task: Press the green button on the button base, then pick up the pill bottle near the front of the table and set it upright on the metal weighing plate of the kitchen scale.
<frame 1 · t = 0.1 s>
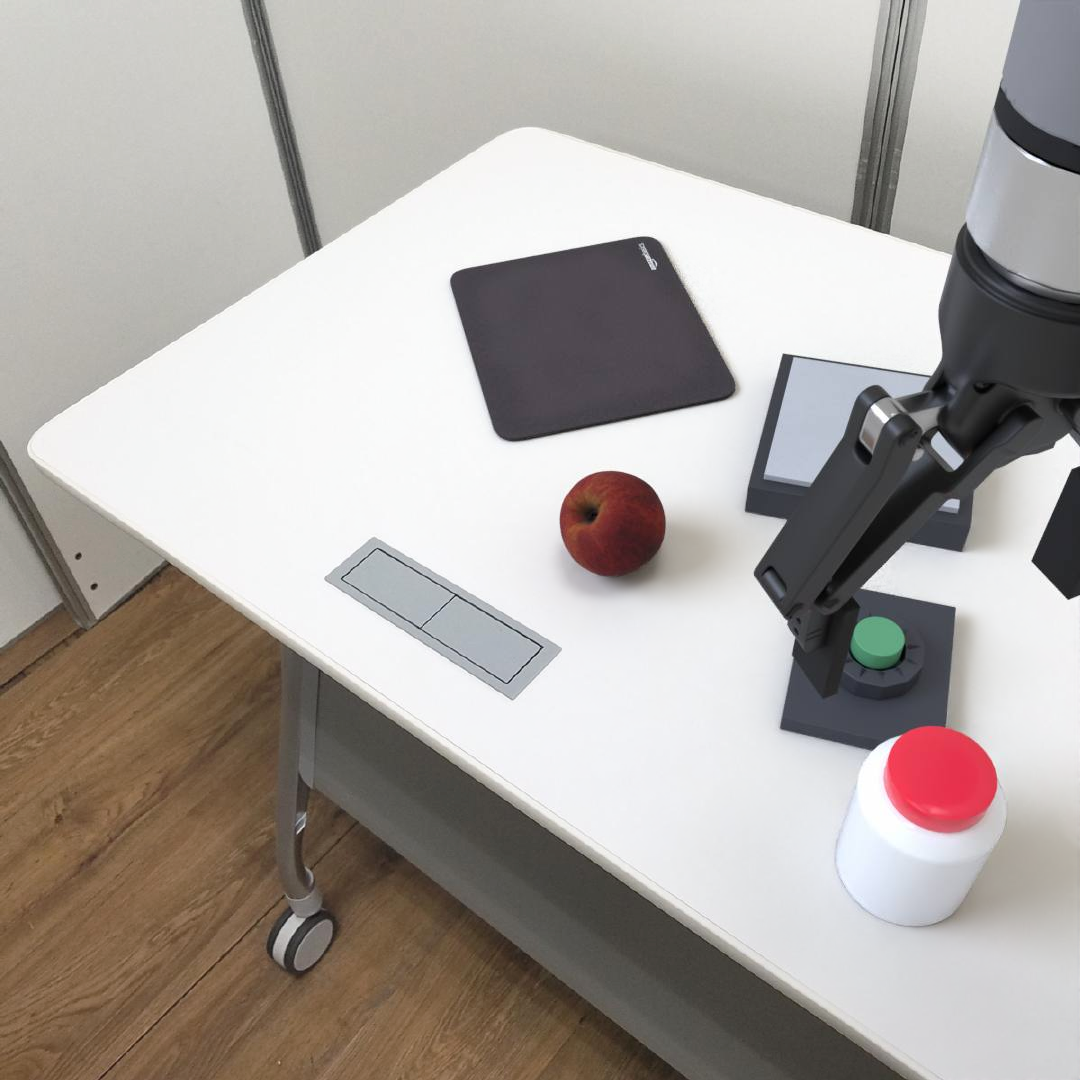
hand: (937, 625, 52), 20 cm above the table, tool pointing down, fingers open, 13 cm apart
scale: (863, 458, 87), on the table
pill bottle: (900, 864, 65), on the table
green button: (877, 642, 71), point 3 cm above the table, slide at 0.1 cm
mouse pad: (584, 331, 100), on the table
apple: (612, 558, 82), on the table
button base: (868, 672, 74), on the table
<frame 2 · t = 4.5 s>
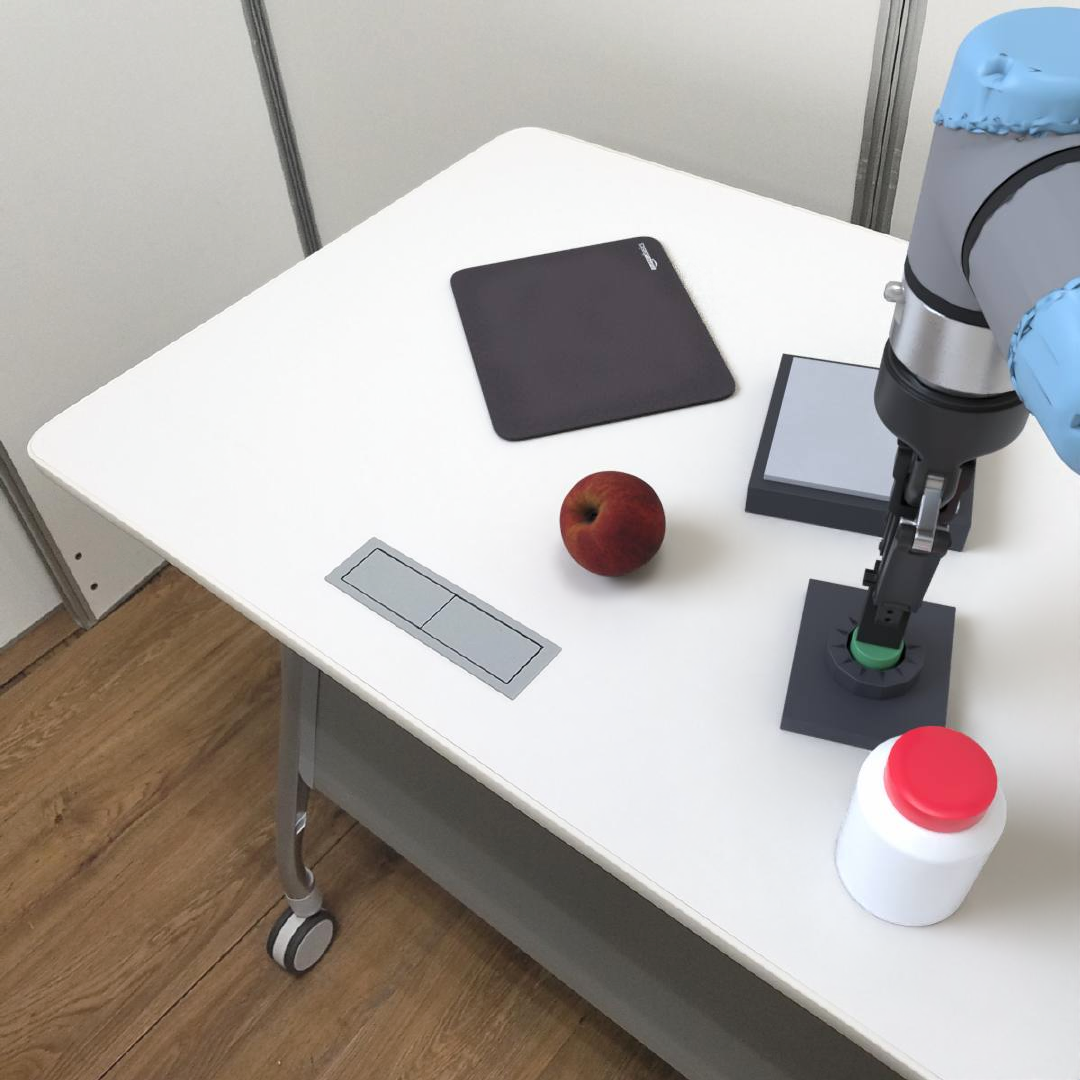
hand: (878, 635, 71), 4 cm above the table, tool pointing down, fingers closed
green button: (876, 646, 72), point 3 cm above the table, slide at -0.3 cm, touching gripper
everything else where it was.
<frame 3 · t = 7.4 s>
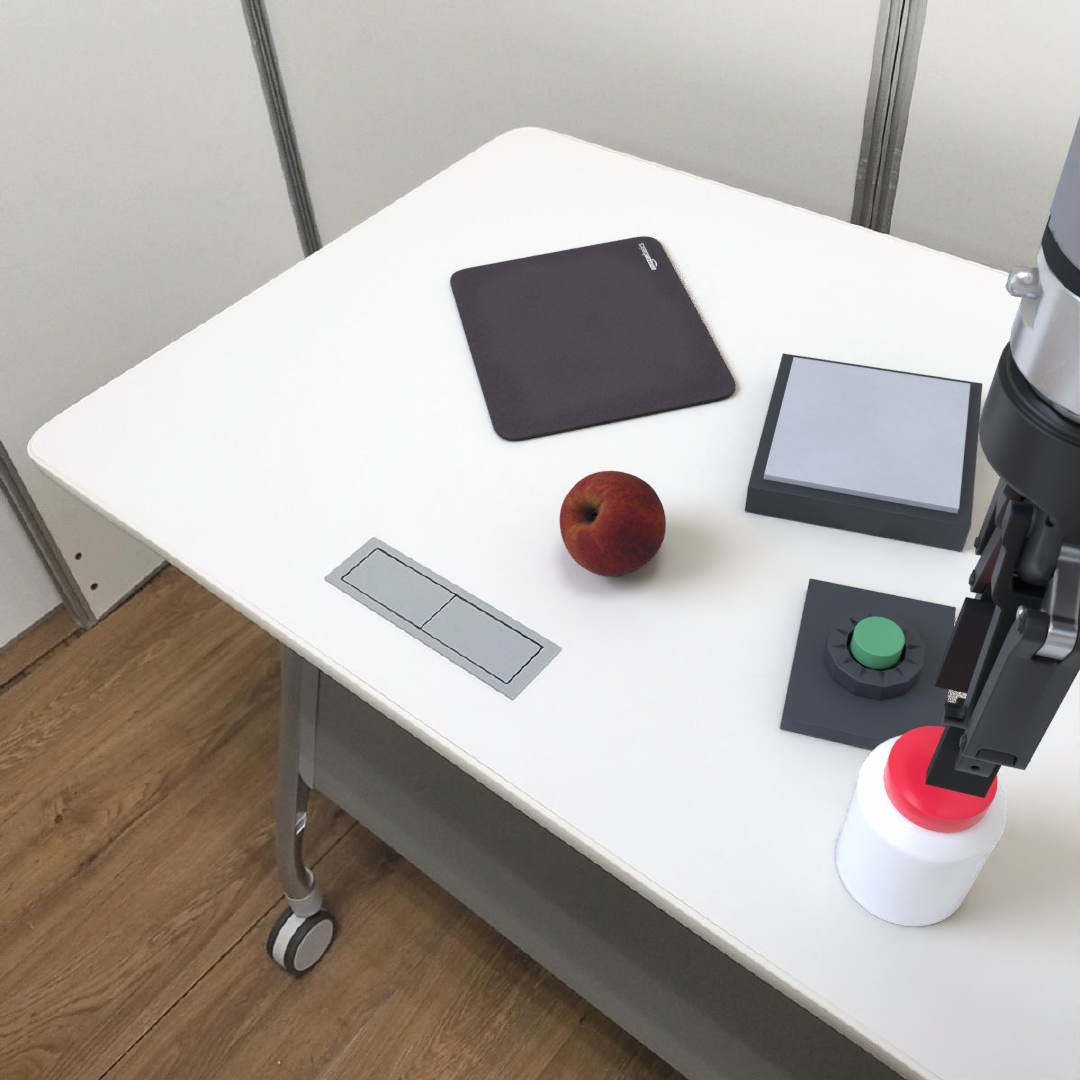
hand: (959, 733, 54), 15 cm above the table, tool pointing down, fingers open, 5 cm apart
green button: (877, 642, 71), point 3 cm above the table, slide at 0.1 cm
everything else where it was.
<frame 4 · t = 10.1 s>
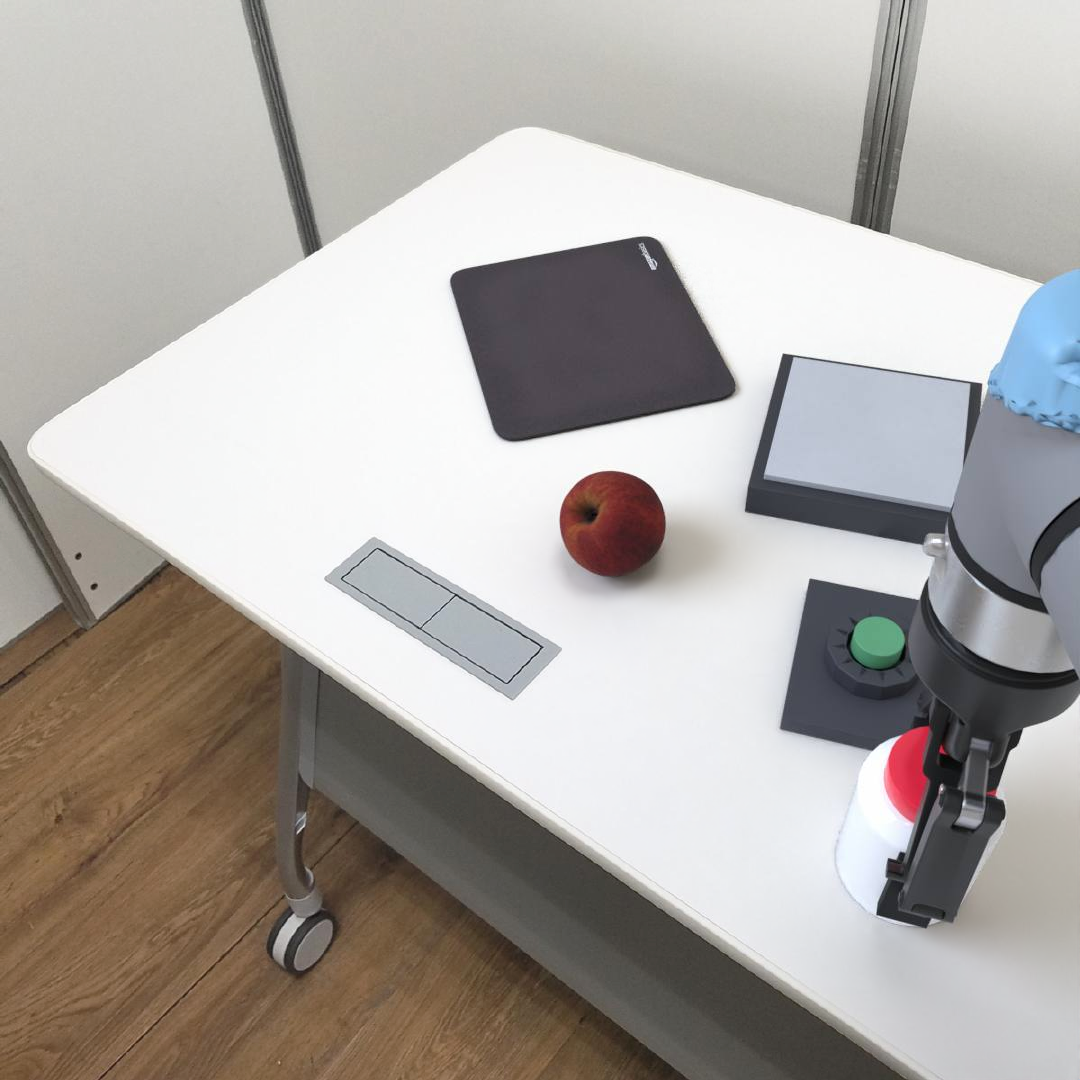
hand: (908, 846, 63), 2 cm above the table, tool pointing down, fingers closed on pill bottle, 8 cm apart
pill bottle: (900, 864, 65), on the table, touching gripper
everything else where it was.
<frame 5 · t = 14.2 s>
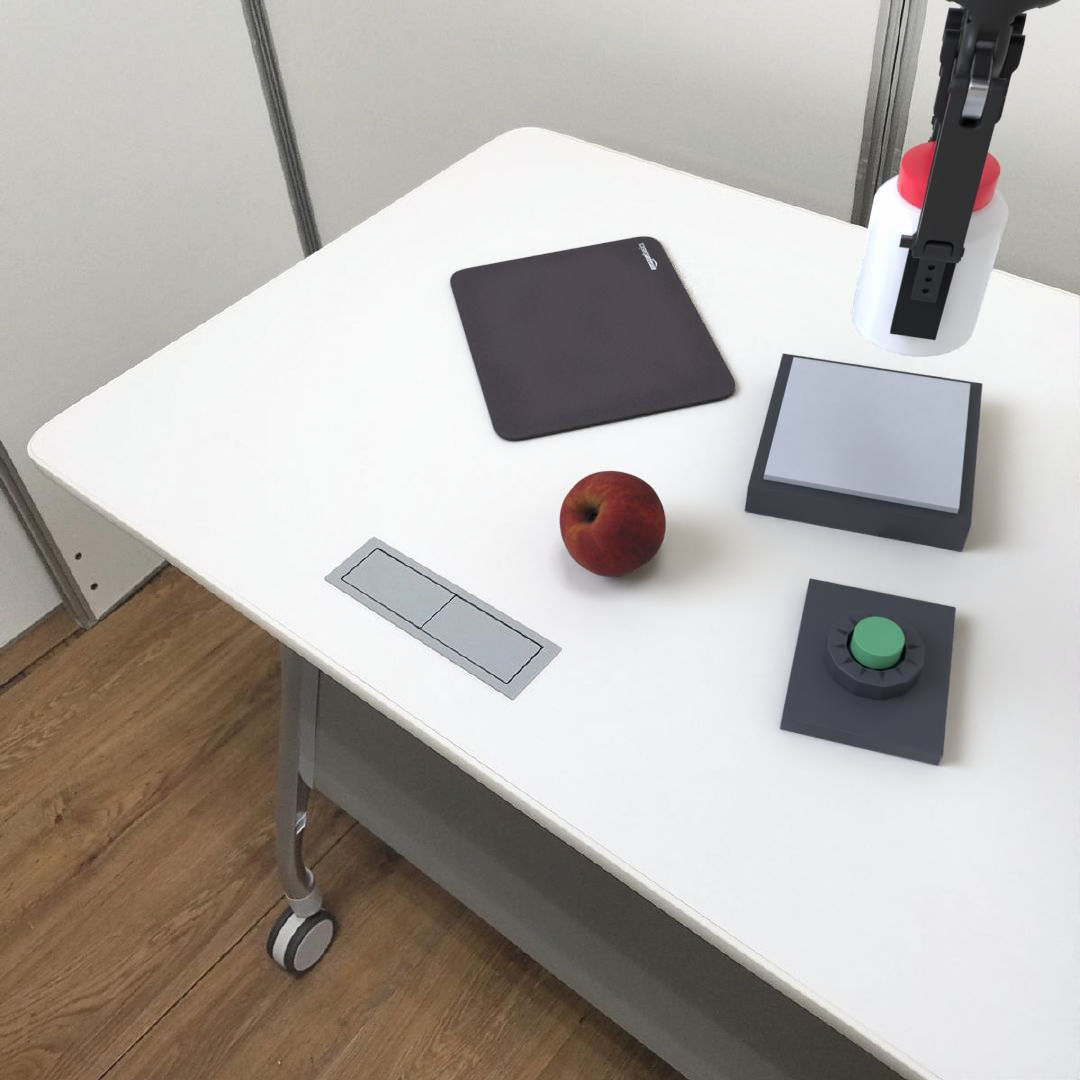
hand: (919, 291, 70), 19 cm above the table, tool pointing down, fingers closed on pill bottle, 8 cm apart
pill bottle: (911, 321, 71), point 17 cm above the table, touching gripper
everything else where it was.
when the fingers open (6 cm above the table, at t = 18.1 s): pill bottle stays where it is, resting on scale.
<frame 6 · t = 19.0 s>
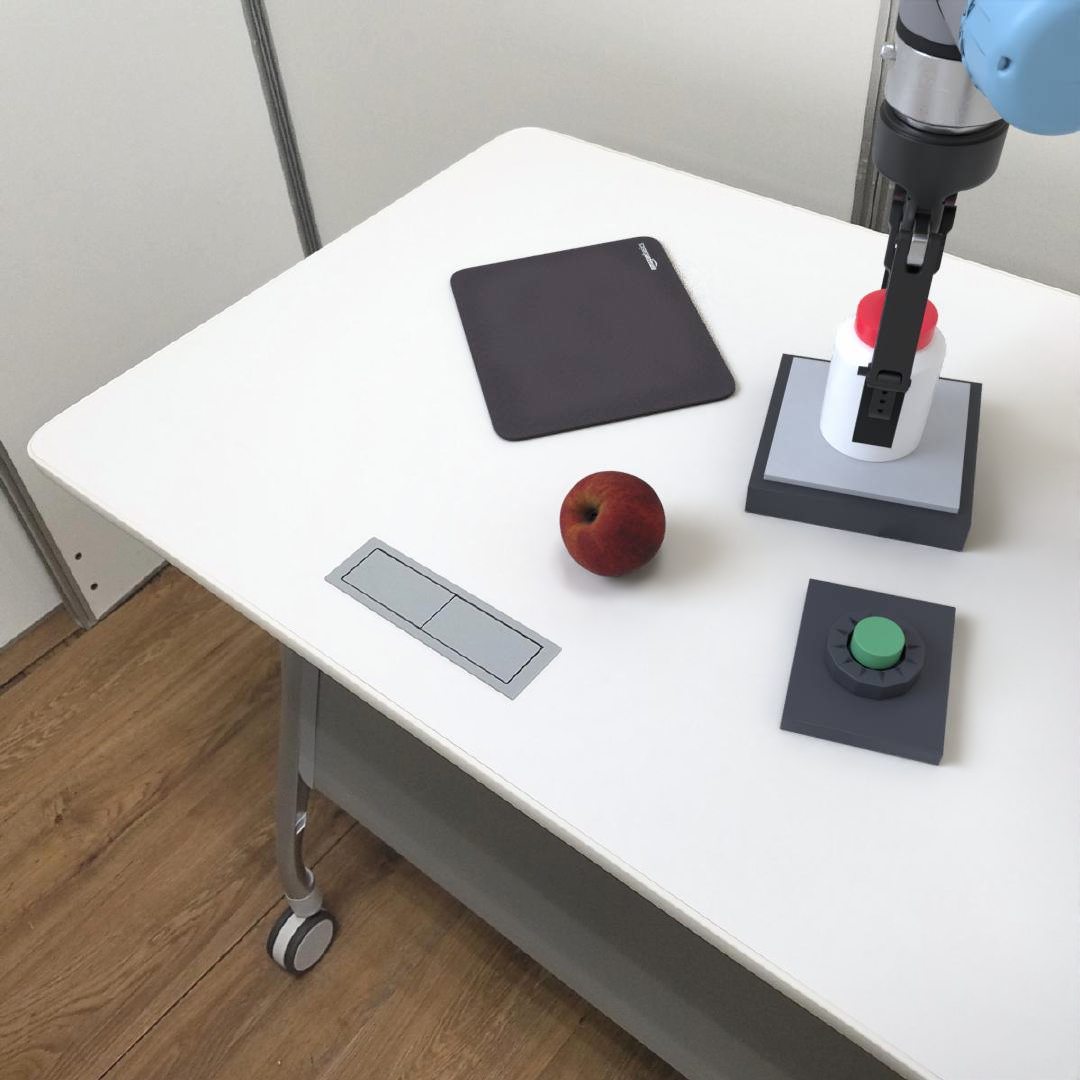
hand: (882, 380, 81), 8 cm above the table, tool pointing down, fingers open, 13 cm apart
pill bottle: (870, 429, 85), point 3 cm above the table, touching scale
everything else where it was.
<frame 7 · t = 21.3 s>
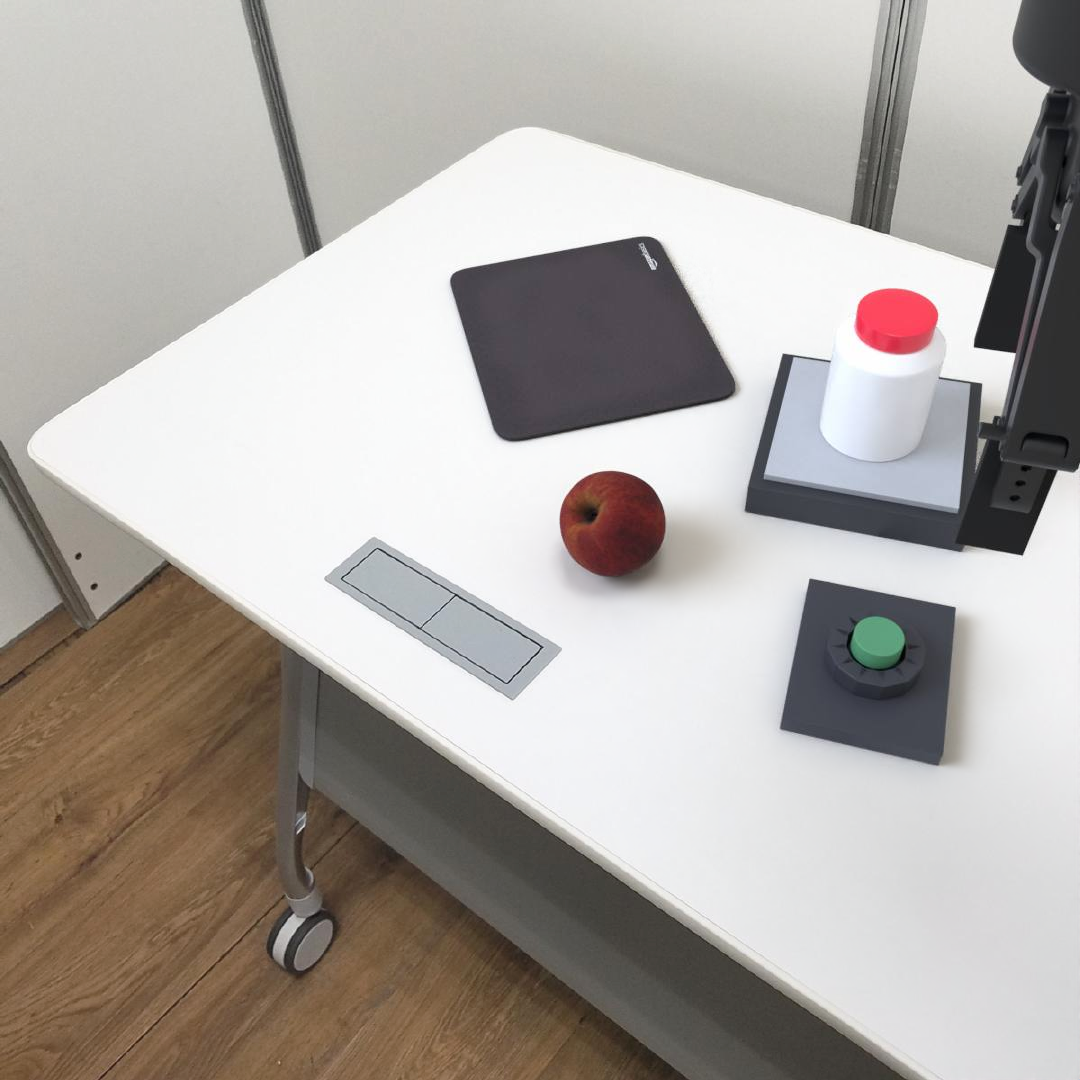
hand: (995, 437, 50), 27 cm above the table, tool pointing down, fingers open, 13 cm apart
nothing on the table moved.
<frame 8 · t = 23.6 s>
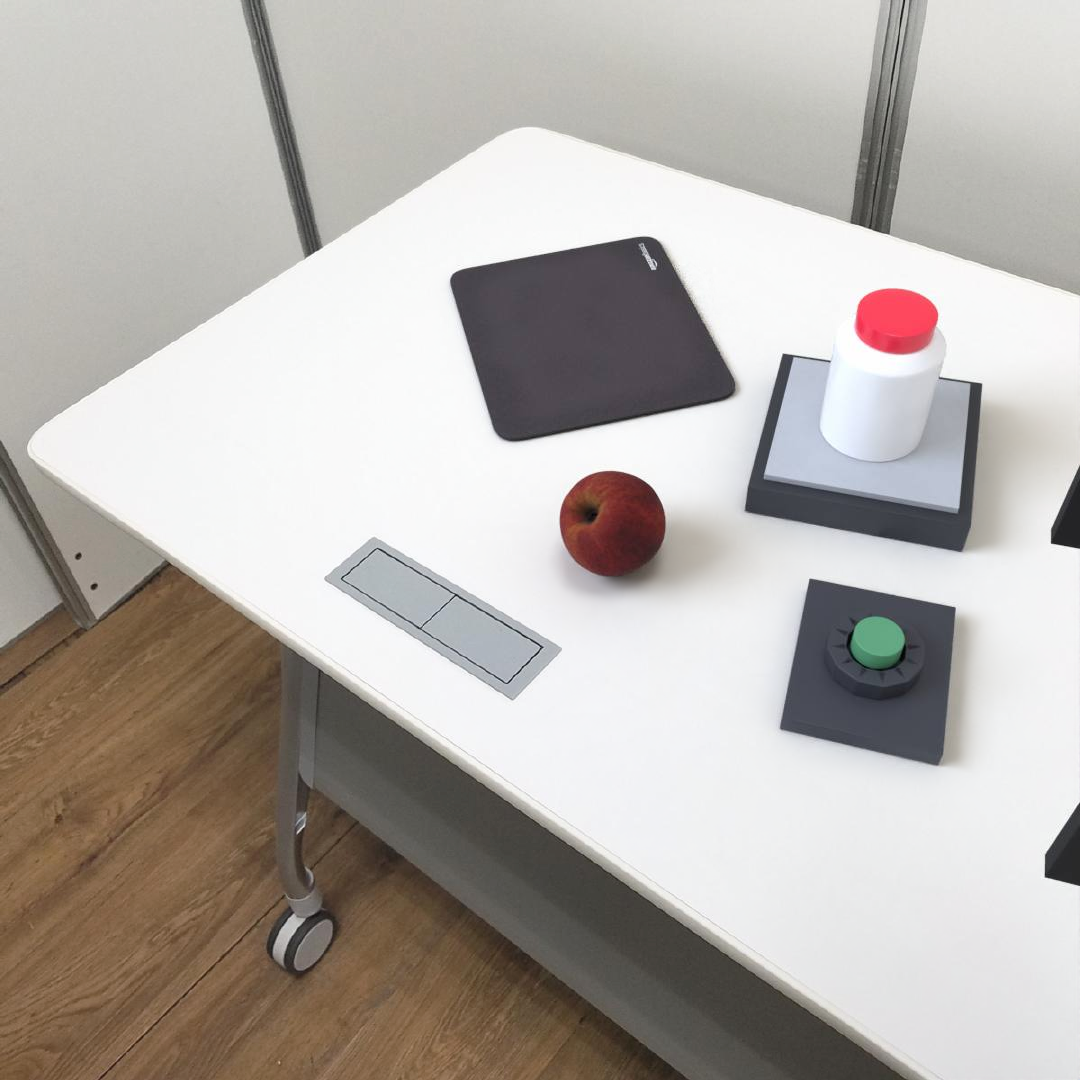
nothing on the table moved.
at the end: green button pushed in 0.8 cm at the most during the clip, back to where it started at the end; pill bottle inside the target area on the scale (0.0 cm from its centre), point 3.2 cm above the scale's base; pill bottle tilted 0° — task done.
